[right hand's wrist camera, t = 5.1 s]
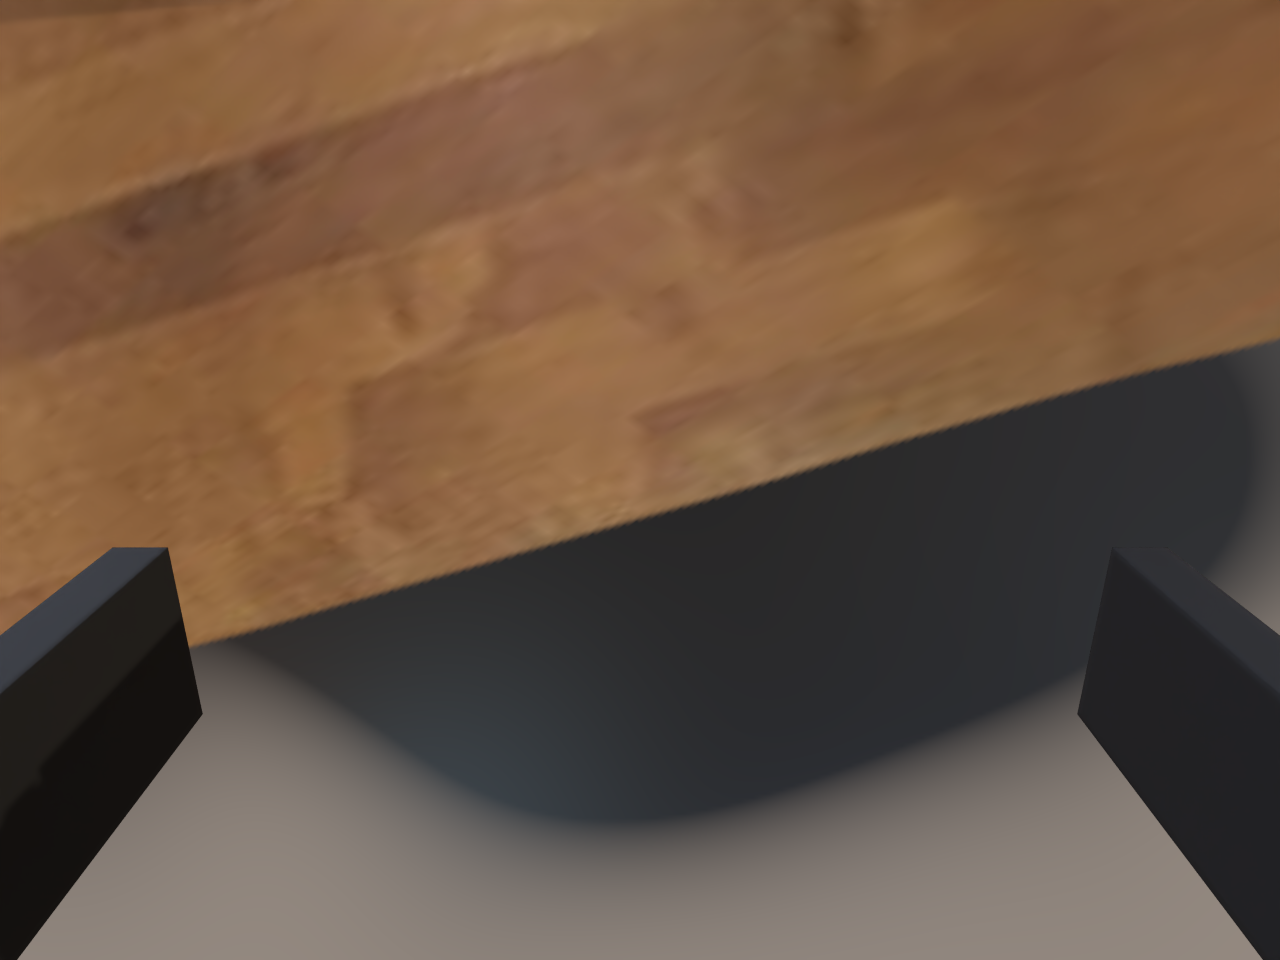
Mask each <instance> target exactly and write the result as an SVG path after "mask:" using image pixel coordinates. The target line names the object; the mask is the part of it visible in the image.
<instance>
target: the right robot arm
mask: <svg viewBox="0 0 1280 960" xmlns="http://www.w3.org/2000/svg"><path fill="white" fill-rule="evenodd" d="M202 714H203V713H202V709H201V704H200V699H199V695H198V690H197V685H196V680H195V675H194V670H193V666H192V661H191V656H190V651H189V647H188V642H187V637H186V632H185V627H184V623H183V618H182V613H181V608H180V604H179V599H178V594H177V589H176V584H175V580H174V575H173V570H172V565H171V560H170V556H169V551H168V548H112V549H110V550H109V551H108V552H106V553H105V554H104V555H103V556H101V557H100V558H99V559H97V560H96V561H95V562H94V563H92V564H91V565H90V566H89V567H87V568H86V569H85V570H83V571H82V572H81V573H80V574H78V575H77V576H76V577H74V578H73V579H72V580H71V581H69V582H68V583H67V584H65V585H64V586H63V587H62V588H60V589H59V590H58V591H57V592H55V593H54V594H53V595H51V596H50V597H49V598H48V599H46V600H45V601H44V602H42V603H41V604H40V605H39V606H37V607H36V608H35V609H34V610H32V611H31V612H30V613H28V614H27V615H26V616H25V617H23V618H22V619H21V620H19V621H18V622H17V623H16V624H14V625H13V626H12V627H11V628H9V629H8V630H7V631H5V632H4V633H3V634H2V635H0V960H17V959H18V958H19V956H20V955H21V954H22V953H23V951H24V950H25V949H26V947H27V946H28V945H29V943H30V942H31V941H32V939H33V938H34V937H35V935H36V934H37V933H38V931H39V930H40V929H41V927H42V926H43V925H44V923H45V922H46V921H47V919H48V918H49V917H50V915H51V914H52V913H53V911H54V910H55V909H56V907H57V906H58V905H59V904H60V902H61V901H62V900H63V898H64V897H65V896H66V894H67V893H68V892H69V890H70V889H71V888H72V886H73V885H74V884H75V882H76V881H77V880H78V878H79V877H80V876H81V874H82V873H83V872H84V870H85V869H86V868H87V866H88V865H89V864H90V862H91V861H92V860H93V859H94V857H95V856H96V855H97V853H98V852H99V851H100V849H101V848H102V847H103V845H104V844H105V843H106V841H107V840H108V839H109V837H110V836H111V835H112V833H113V832H114V831H115V829H116V828H117V827H118V825H119V824H120V823H121V821H122V820H123V819H124V817H125V816H126V815H127V814H128V812H129V811H130V810H131V808H132V807H133V805H134V804H135V803H136V802H137V800H138V799H139V798H140V796H141V795H142V794H143V792H144V791H145V790H146V788H147V787H148V786H149V784H150V783H151V782H152V780H153V779H154V778H155V776H156V775H157V774H158V772H159V771H160V770H161V768H162V767H163V766H164V765H165V763H166V762H167V761H168V759H169V758H170V756H171V755H172V754H173V753H174V751H175V750H176V749H177V747H178V746H179V745H180V743H181V742H182V741H183V739H184V738H185V737H186V735H187V734H188V733H189V731H190V730H191V729H192V727H193V726H194V725H195V723H196V722H197V721H198V719H199V718H200V717H201V716H202ZM1078 716H1079V717H1080V718H1081V719H1082V721H1083V722H1084V723H1085V725H1086V726H1087V727H1088V729H1089V730H1090V731H1091V733H1092V734H1093V735H1094V737H1095V738H1096V739H1097V741H1098V742H1099V743H1100V745H1101V746H1102V747H1103V749H1104V750H1105V751H1106V753H1107V754H1108V755H1109V757H1110V758H1111V759H1112V761H1113V762H1114V763H1115V765H1116V766H1117V767H1118V768H1119V770H1120V771H1121V772H1122V774H1123V775H1124V776H1125V778H1126V779H1127V780H1128V782H1129V783H1130V784H1131V786H1132V787H1133V788H1134V790H1135V791H1136V792H1137V794H1138V795H1139V796H1140V798H1141V799H1142V800H1143V802H1144V803H1145V804H1146V806H1147V807H1148V808H1149V809H1150V811H1151V812H1152V813H1153V815H1154V816H1155V817H1156V819H1157V820H1158V821H1159V823H1160V824H1161V825H1162V827H1163V828H1164V829H1165V831H1166V832H1167V833H1168V835H1169V836H1170V837H1171V839H1172V840H1173V841H1174V843H1175V844H1176V845H1177V847H1178V848H1179V849H1180V851H1181V852H1182V853H1183V855H1184V856H1185V857H1186V859H1187V860H1188V861H1189V862H1190V864H1191V865H1192V866H1193V868H1194V869H1195V870H1196V872H1197V873H1198V874H1199V876H1200V877H1201V878H1202V880H1203V881H1204V882H1205V884H1206V885H1207V886H1208V888H1209V889H1210V890H1211V892H1212V893H1213V894H1214V896H1215V897H1216V898H1217V900H1218V901H1219V902H1220V904H1221V905H1222V906H1223V907H1224V909H1225V910H1226V911H1227V913H1228V914H1229V915H1230V917H1231V918H1232V919H1233V921H1234V922H1235V923H1236V925H1237V926H1238V927H1239V929H1240V930H1241V931H1242V933H1243V934H1244V935H1245V937H1246V938H1247V939H1248V941H1249V942H1250V943H1251V945H1252V946H1253V947H1254V949H1255V950H1256V951H1257V953H1258V954H1259V955H1260V956H1261V958H1262V959H1263V960H1280V635H1278V634H1277V633H1276V632H1275V631H1273V630H1272V629H1271V628H1269V627H1268V626H1267V625H1266V624H1264V623H1263V622H1262V621H1261V620H1259V619H1258V618H1257V617H1255V616H1254V615H1253V614H1252V613H1250V612H1249V611H1248V610H1246V609H1245V608H1244V607H1243V606H1241V605H1240V604H1239V603H1237V602H1236V601H1235V600H1234V599H1232V598H1231V597H1230V596H1229V595H1227V594H1226V593H1225V592H1223V591H1222V590H1221V589H1220V588H1218V587H1217V586H1216V585H1215V584H1213V583H1212V582H1211V581H1209V580H1208V579H1207V578H1206V577H1204V576H1203V575H1202V574H1200V573H1199V572H1198V571H1197V570H1195V569H1194V568H1193V567H1191V566H1190V565H1189V564H1188V563H1186V562H1185V561H1184V560H1183V559H1181V558H1180V557H1179V556H1177V555H1176V554H1175V553H1174V552H1172V551H1171V550H1170V549H1168V548H1112V551H1111V556H1110V560H1109V565H1108V570H1107V575H1106V580H1105V585H1104V589H1103V594H1102V599H1101V604H1100V608H1099V613H1098V618H1097V623H1096V628H1095V632H1094V637H1093V642H1092V647H1091V651H1090V656H1089V661H1088V666H1087V670H1086V675H1085V680H1084V685H1083V690H1082V695H1081V699H1080V704H1079V709H1078Z"/></svg>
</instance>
